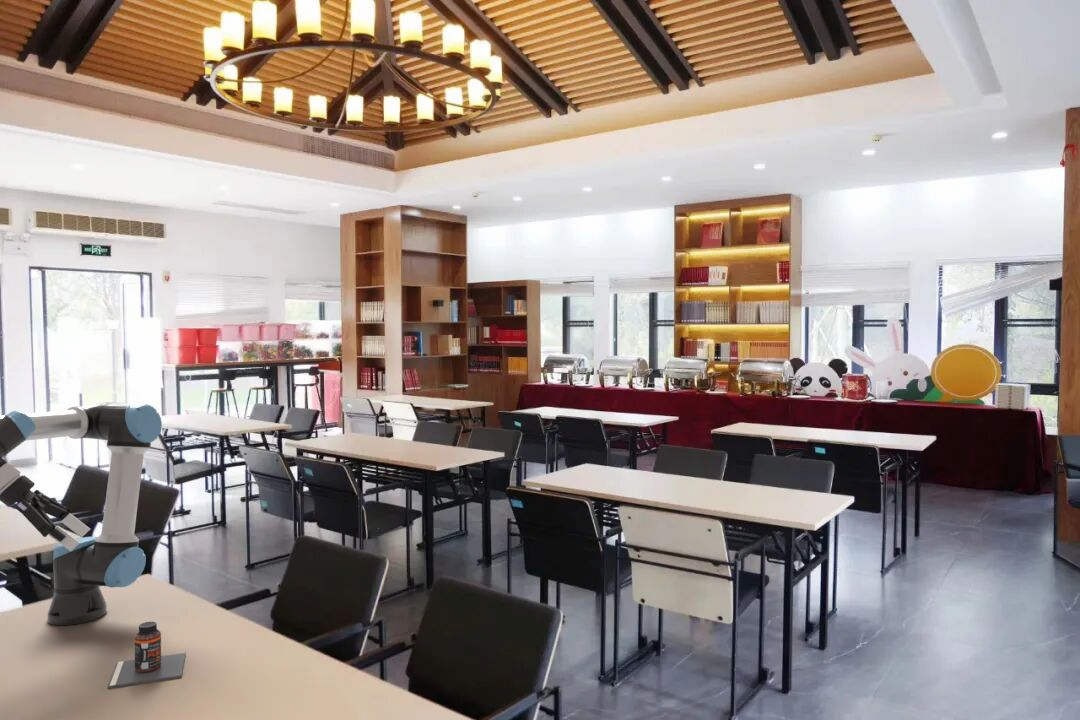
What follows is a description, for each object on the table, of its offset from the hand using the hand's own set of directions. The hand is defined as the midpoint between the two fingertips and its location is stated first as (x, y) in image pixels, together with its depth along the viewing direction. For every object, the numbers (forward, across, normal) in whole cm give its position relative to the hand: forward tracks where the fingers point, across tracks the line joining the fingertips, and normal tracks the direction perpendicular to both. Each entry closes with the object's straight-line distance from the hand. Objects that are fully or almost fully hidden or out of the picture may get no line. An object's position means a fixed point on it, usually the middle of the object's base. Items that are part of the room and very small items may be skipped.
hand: (81, 539), depth 190 cm
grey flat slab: (+34, +9, -12) cm, 37 cm away
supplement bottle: (+34, +9, -12) cm, 37 cm away
